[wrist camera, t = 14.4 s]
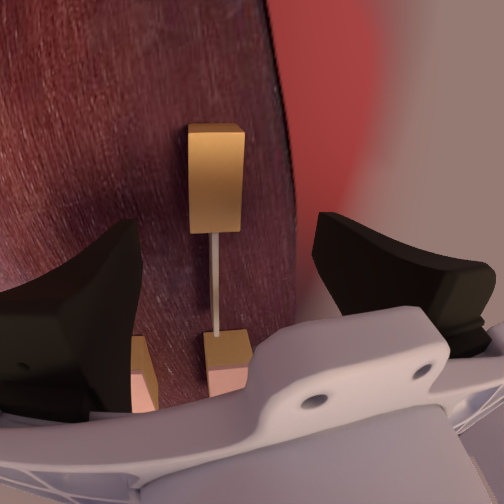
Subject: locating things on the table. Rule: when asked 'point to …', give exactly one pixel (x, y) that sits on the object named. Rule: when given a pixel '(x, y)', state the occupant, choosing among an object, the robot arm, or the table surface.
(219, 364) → the light tan rectangular block
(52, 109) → the table surface
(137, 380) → the pink rectangular block
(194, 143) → the chisel
